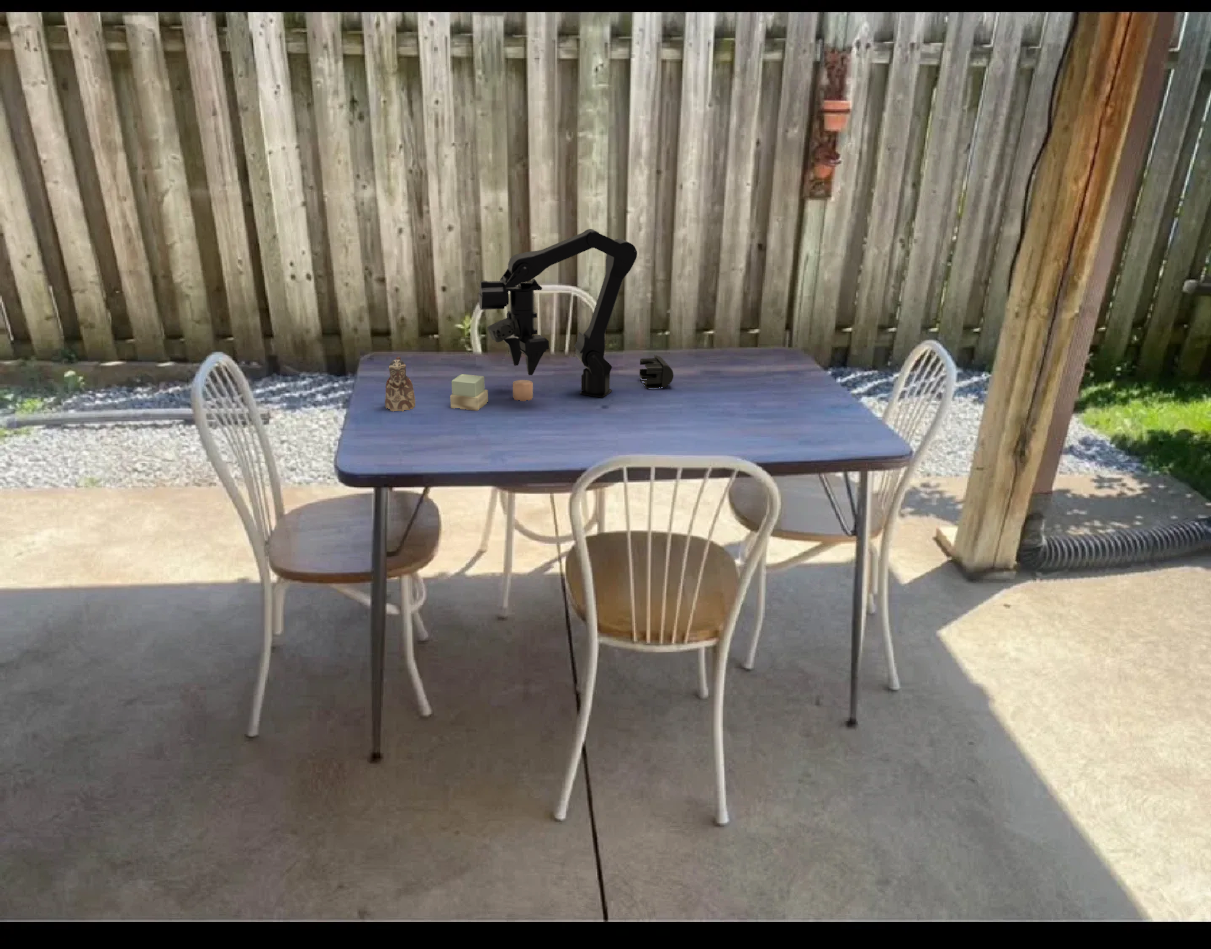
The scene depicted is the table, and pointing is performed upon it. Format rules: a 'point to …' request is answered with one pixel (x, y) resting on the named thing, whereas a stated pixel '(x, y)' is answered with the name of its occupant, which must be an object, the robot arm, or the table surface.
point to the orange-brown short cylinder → (522, 390)
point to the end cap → (655, 372)
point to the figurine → (399, 388)
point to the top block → (468, 385)
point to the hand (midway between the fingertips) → (523, 370)
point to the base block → (469, 401)
